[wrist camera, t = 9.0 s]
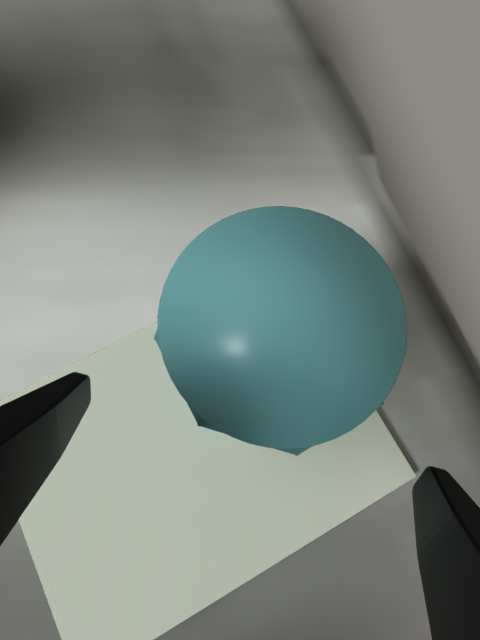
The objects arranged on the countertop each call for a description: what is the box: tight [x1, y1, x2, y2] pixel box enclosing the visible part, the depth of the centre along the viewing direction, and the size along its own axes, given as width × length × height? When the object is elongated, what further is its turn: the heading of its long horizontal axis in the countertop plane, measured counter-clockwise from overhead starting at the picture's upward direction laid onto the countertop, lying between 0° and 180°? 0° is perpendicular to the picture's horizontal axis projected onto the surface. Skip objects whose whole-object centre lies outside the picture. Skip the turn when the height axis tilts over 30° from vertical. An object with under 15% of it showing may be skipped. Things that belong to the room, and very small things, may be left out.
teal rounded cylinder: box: [154, 206, 407, 456], centre depth 15 cm, size 7×7×11 cm
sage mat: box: [0, 321, 416, 640], centre depth 19 cm, size 19×14×1 cm
